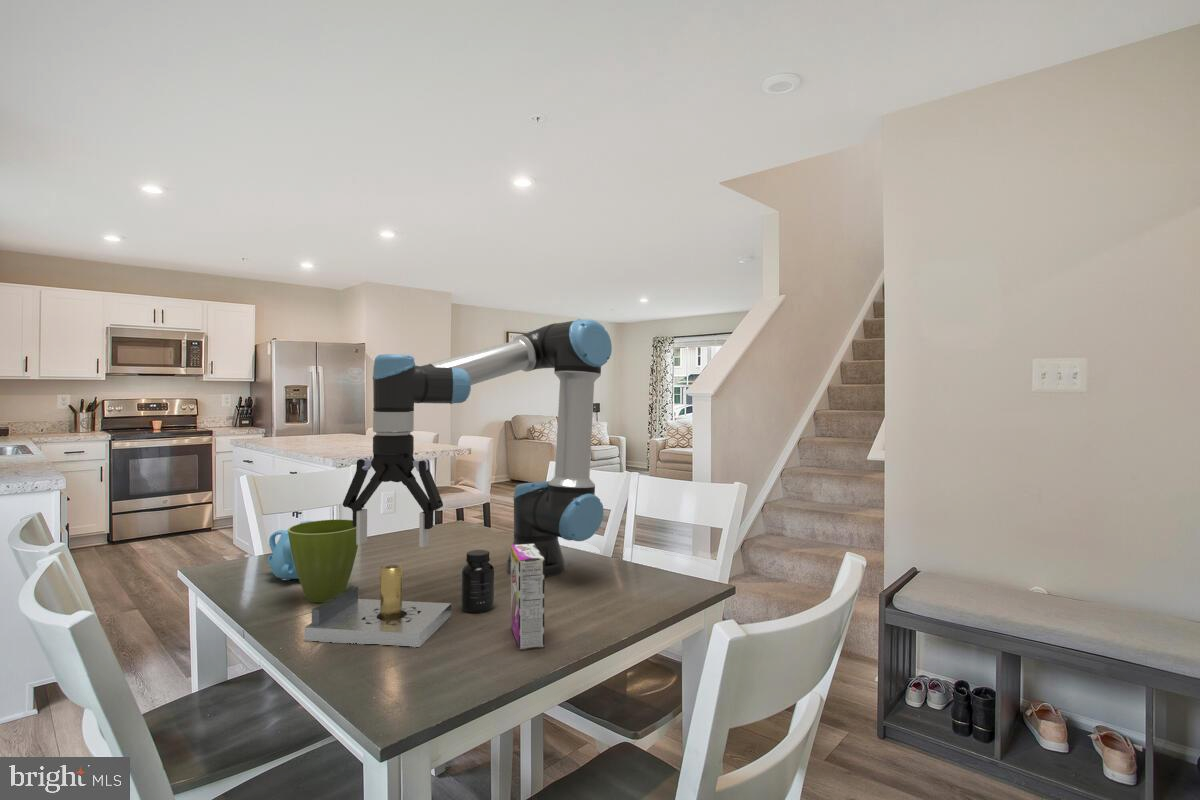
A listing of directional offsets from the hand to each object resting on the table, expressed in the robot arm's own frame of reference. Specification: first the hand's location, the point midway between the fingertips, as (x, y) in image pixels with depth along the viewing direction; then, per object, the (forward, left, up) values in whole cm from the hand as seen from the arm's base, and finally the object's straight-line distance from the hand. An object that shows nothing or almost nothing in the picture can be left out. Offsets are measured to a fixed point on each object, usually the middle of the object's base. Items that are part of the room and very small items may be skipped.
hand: (392, 544), depth 115 cm
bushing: (0, 0, -16) cm, 16 cm away
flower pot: (+23, -15, -16) cm, 32 cm away
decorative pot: (+37, -30, -17) cm, 50 cm away
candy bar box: (-27, +1, -17) cm, 32 cm away
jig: (+2, 0, -16) cm, 16 cm away
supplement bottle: (-13, -13, -16) cm, 25 cm away
